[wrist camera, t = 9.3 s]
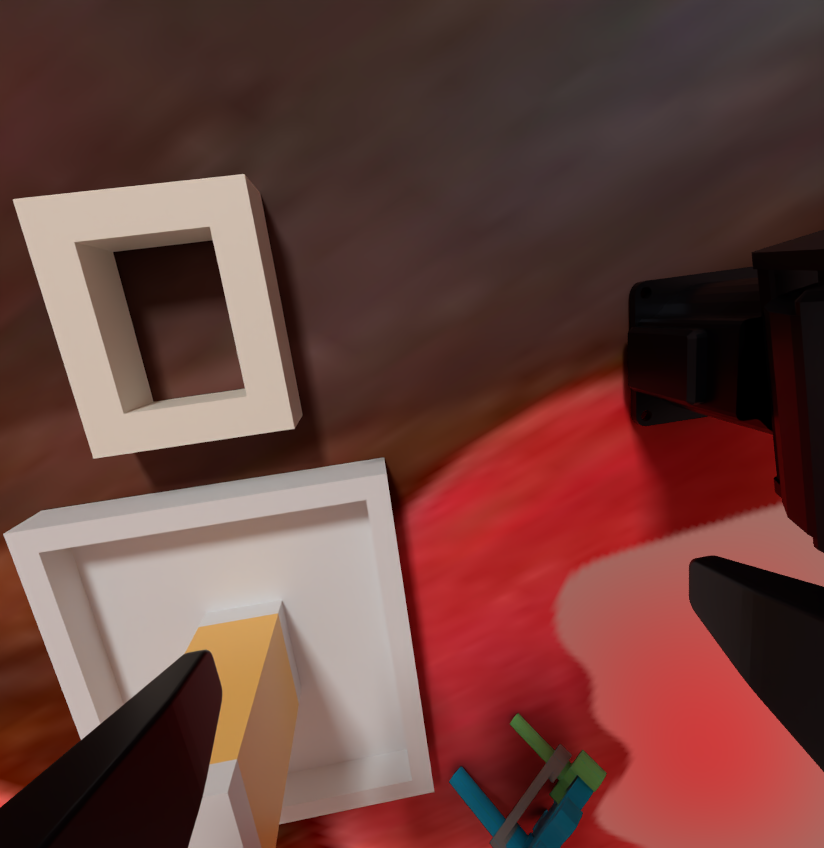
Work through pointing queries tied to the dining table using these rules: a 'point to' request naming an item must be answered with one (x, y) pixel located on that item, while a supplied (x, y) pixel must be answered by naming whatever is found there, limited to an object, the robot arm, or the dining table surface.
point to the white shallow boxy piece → (112, 326)
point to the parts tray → (237, 587)
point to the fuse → (248, 726)
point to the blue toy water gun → (567, 794)
